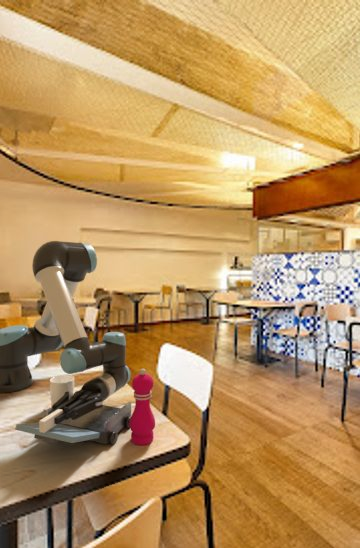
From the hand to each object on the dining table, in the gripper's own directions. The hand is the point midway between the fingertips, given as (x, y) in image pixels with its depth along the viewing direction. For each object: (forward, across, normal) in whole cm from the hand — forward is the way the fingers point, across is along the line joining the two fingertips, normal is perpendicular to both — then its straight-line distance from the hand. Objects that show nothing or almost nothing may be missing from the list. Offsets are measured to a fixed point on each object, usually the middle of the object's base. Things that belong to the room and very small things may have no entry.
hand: (42, 426), depth 73 cm
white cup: (-28, +17, -10) cm, 34 cm away
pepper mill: (-20, -17, -10) cm, 28 cm away
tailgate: (-12, 0, -7) cm, 14 cm away
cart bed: (-20, 0, -10) cm, 22 cm away
